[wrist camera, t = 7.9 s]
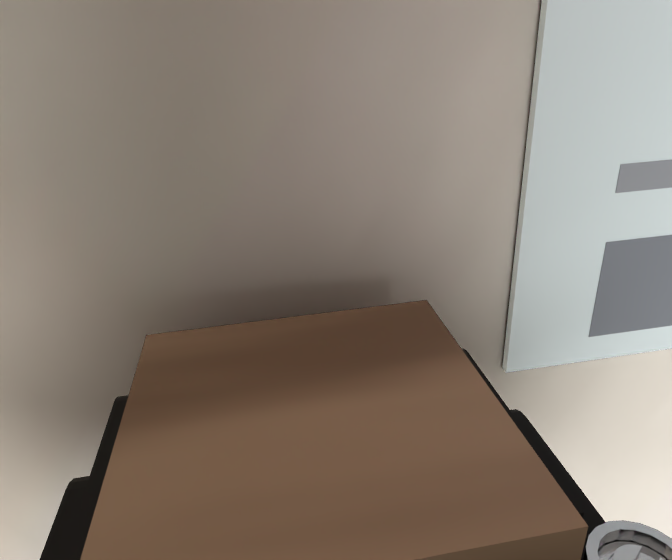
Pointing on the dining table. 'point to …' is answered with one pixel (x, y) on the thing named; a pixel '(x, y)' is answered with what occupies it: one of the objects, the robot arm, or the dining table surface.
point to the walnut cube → (324, 449)
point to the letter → (595, 188)
